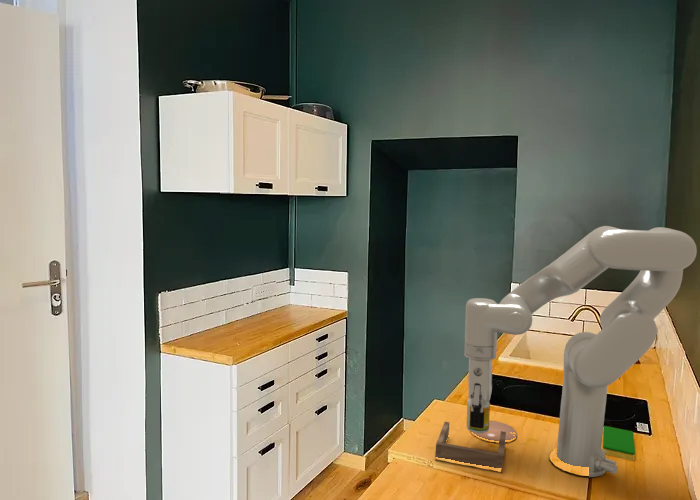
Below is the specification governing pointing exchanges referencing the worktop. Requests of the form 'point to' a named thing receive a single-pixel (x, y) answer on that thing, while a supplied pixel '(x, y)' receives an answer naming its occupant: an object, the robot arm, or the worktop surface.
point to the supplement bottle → (486, 417)
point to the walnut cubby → (469, 451)
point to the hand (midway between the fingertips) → (478, 421)
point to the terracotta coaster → (497, 431)
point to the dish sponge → (618, 443)
